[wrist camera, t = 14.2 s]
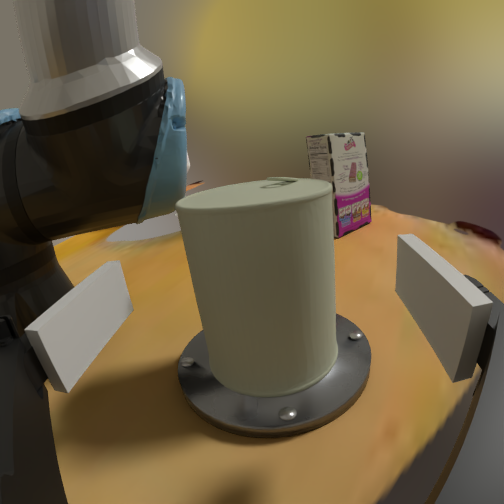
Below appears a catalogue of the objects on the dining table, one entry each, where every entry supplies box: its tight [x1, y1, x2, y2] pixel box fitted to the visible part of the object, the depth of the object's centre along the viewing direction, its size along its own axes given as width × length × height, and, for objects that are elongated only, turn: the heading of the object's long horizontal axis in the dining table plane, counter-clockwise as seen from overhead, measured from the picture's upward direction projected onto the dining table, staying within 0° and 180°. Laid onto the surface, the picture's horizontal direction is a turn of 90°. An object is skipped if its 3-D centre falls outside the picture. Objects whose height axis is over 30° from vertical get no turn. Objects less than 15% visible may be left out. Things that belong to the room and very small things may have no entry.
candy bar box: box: [306, 133, 371, 238], centre depth 51 cm, size 11×5×16 cm, turn 130°
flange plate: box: [178, 314, 371, 438], centre depth 22 cm, size 14×14×1 cm
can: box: [175, 177, 338, 397], centre depth 20 cm, size 9×9×12 cm
